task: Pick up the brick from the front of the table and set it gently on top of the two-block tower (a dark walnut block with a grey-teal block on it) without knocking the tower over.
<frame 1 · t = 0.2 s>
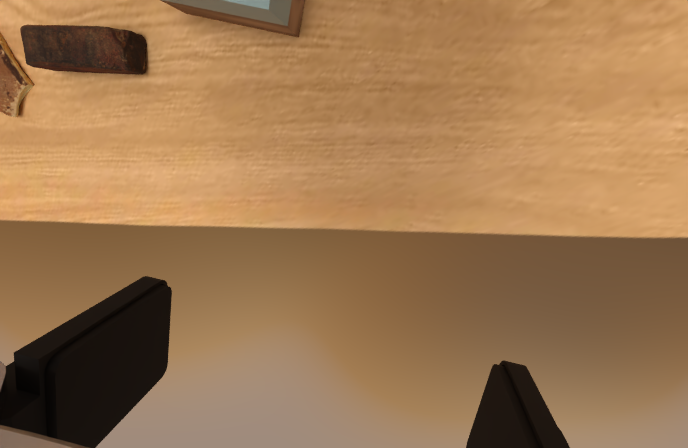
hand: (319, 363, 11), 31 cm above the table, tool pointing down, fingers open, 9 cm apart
brick: (105, 55, 42), on the table
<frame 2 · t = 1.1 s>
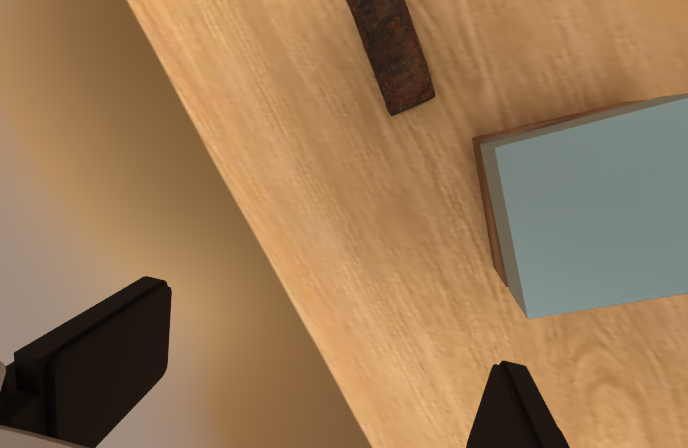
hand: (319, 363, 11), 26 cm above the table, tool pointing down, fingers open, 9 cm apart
tower base: (553, 189, 33), on the table
tower top: (577, 201, 28), point 5 cm above the table
brick: (390, 48, 33), on the table
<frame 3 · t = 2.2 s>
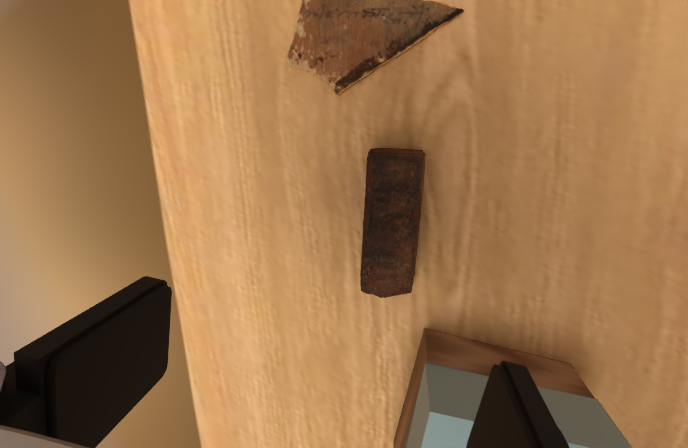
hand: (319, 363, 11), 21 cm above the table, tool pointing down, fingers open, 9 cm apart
shard: (360, 18, 28), on the table
tower base: (475, 401, 34), on the table, touching tower top
tower top: (489, 447, 29), point 5 cm above the table, touching tower base
brick: (392, 214, 31), on the table
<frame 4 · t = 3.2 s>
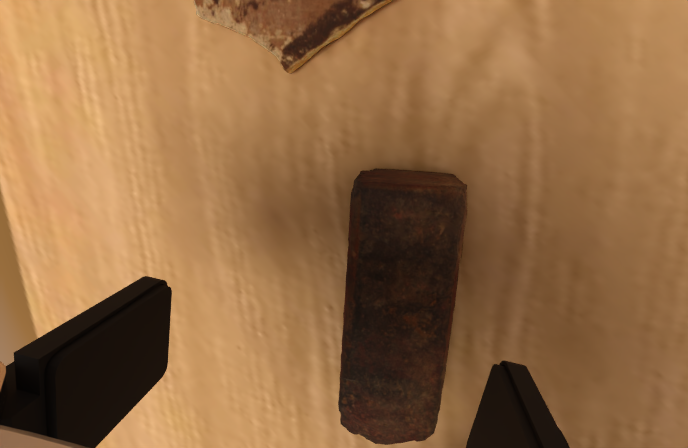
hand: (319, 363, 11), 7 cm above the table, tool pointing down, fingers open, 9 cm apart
brick: (398, 280, 18), on the table
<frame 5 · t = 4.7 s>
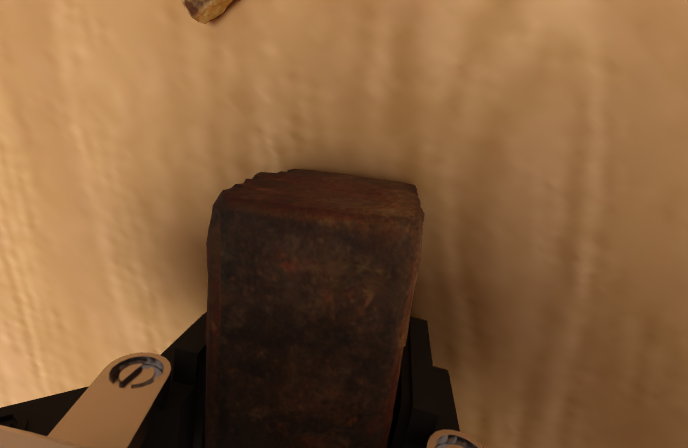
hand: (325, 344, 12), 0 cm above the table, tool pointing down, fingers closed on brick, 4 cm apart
brick: (330, 334, 12), on the table, touching gripper
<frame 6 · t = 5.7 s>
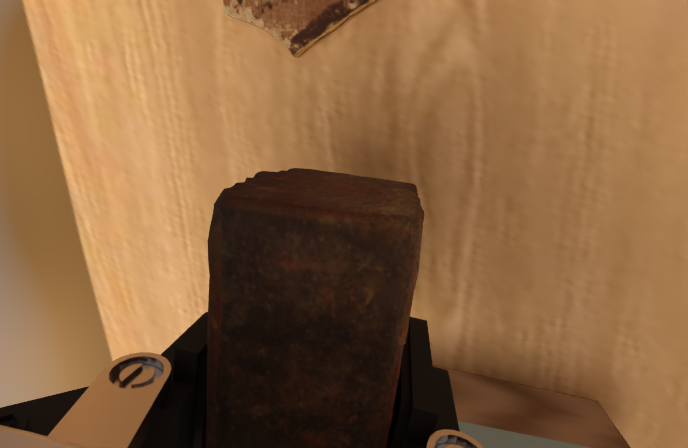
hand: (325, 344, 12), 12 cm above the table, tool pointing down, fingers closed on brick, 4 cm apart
tower base: (479, 445, 27), on the table, touching tower top
brick: (330, 332, 12), point 12 cm above the table, touching gripper
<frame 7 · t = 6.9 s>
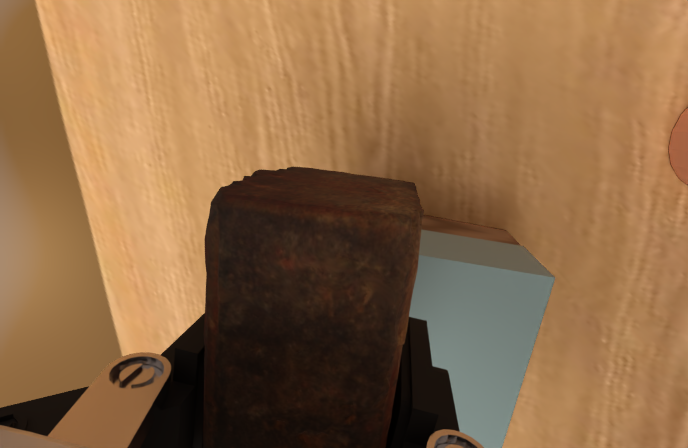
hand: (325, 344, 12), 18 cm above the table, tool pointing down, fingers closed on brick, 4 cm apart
tower base: (409, 284, 31), on the table, touching tower top
tower top: (410, 313, 26), point 5 cm above the table, touching tower base
brick: (329, 332, 12), point 18 cm above the table, touching gripper
when the fingers open (12 cm above the table, at t = 9.9 s): brick drops 2 cm, point 9 cm above the table.
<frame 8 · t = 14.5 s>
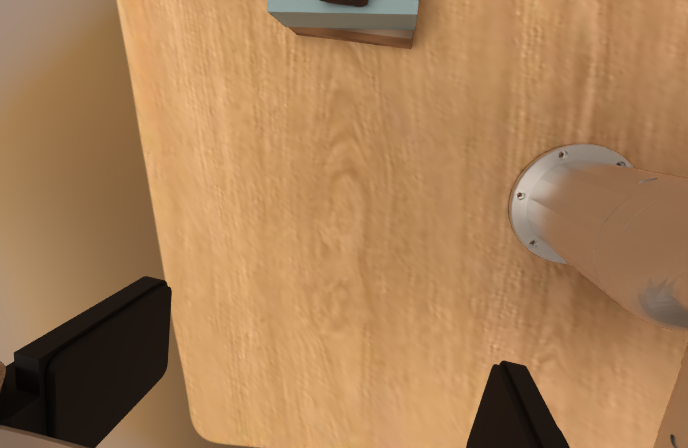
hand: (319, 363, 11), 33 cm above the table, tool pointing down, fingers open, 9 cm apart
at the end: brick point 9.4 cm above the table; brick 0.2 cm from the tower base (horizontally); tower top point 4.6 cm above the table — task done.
